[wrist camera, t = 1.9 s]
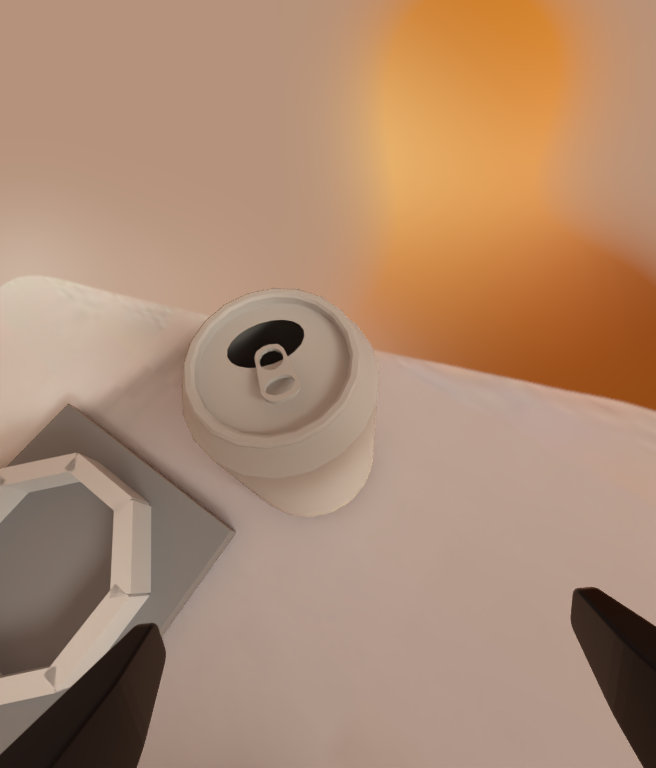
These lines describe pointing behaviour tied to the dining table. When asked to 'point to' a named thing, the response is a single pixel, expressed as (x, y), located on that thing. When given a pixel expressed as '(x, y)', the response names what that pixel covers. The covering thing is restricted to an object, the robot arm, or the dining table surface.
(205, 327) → the can
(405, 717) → the dining table surface
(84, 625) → the housing
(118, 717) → the robot arm
